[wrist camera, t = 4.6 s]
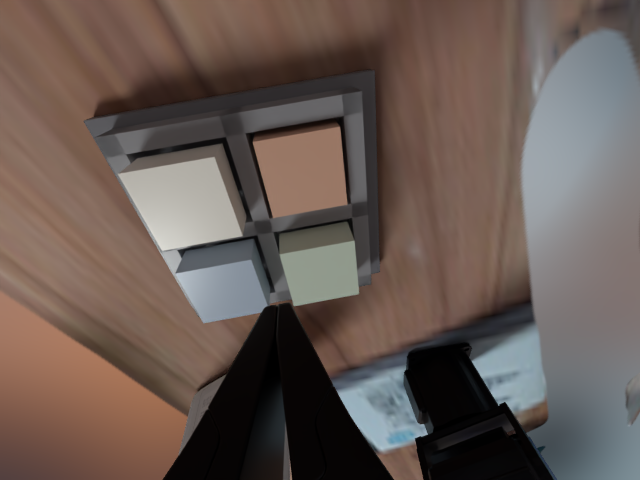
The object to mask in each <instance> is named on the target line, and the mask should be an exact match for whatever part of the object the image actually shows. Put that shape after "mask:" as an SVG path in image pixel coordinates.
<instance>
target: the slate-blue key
mask: <svg viewBox="0 0 640 480" xmlns="http://www.w3.org/2000/svg"><path fill="white" fill-rule="evenodd" d="M175 274H176V276H177V278H178V280H179V281H180V283H181V285H182V287H183V288H184V290H185V292H186V294H187V295H188V297H189V299H190V301H191V302H192V304H193V306H194V307H195V309H196V311H197V313H198V314H199V316H200V318H201V320H202V321H203V323H208V322H213V321H218V320H224V319H229V318H234V317H240V316H245V315H250V314H256V313H261V312H262V311H263V309H264V308H265V307H266V306H270V285H269V282H268V279H267V276H266V273H265V270H264V267H263V264H262V261H261V258H260V255H259V252H258V249H257V246H256V243H255V240H254V239H248V240H243V241H237V242H232V243H226V244H221V245H215V246H210V247H204V248H199V249H194V250H188V251H185V253H184V255H183V257H182V260H181V262H180V264H179V266H178V268H177V271H176V273H175Z"/></svg>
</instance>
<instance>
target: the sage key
mask: <svg viewBox="0 0 640 480" xmlns="http://www.w3.org/2000/svg"><path fill="white" fill-rule="evenodd" d="M279 254H280V258H281V262H282V265H283V269H284V272H285V276H286V279H287V283H288V287H289V290H290V294H291V297H292V301H293V304H294V306H298V305H304V304H309V303H314V302H319V301H325V300H330V299H335V298H341V297H346V296H351V295H357V294H359V287H358V275H357V263H356V252H355V241H354V238H353V235H352V233H351V230H350V228H349V225H348V222H341V223H336V224H330V225H325V226H319V227H314V228H308V229H303V230H297V231H292V232H286V233H281V234H279Z"/></svg>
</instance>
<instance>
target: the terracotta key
mask: <svg viewBox="0 0 640 480" xmlns="http://www.w3.org/2000/svg"><path fill="white" fill-rule="evenodd" d="M253 145H254V149H255V153H256V156H257V160H258V164H259V167H260V171H261V175H262V178H263V182H264V186H265V189H266V193H267V197H268V201H269V204H270V208H271V212H272V215H273V218H276V217H282V216H287V215H293V214H298V213H304V212H309V211H315V210H320V209H326V208H331V207H337V206H342V205H347V194H346V184H345V173H344V163H343V152H342V142H341V131H340V126H339V125H338V123H337V122H336V121H335V119H334V118H330V119H324V120H318V121H313V122H307V123H301V124H296V125H290V126H284V127H279V128H273V129H267V130H262V131H256V132H255V135H254V139H253Z"/></svg>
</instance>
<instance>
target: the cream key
mask: <svg viewBox="0 0 640 480" xmlns="http://www.w3.org/2000/svg"><path fill="white" fill-rule="evenodd" d="M118 175H119V177H120V179H121V181H122V182H123V184H124V186H125V188H126V189H127V191H128V193H129V194H130V196H131V198H132V200H133V201H134V203H135V205H136V207H137V208H138V210H139V212H140V214H141V215H142V217H143V219H144V221H145V222H146V224H147V226H148V228H149V229H150V231H151V233H152V234H153V236H154V238H155V240H156V241H157V243H158V245H159V247H160V248H161V250H162V251H164V250H170V249H175V248H181V247H186V246H192V245H197V244H203V243H208V242H214V241H219V240H225V239H230V238H236V237H241V236H243V232H244V227H245V222H246V213H245V210H244V207H243V204H242V201H241V198H240V195H239V192H238V189H237V186H236V183H235V180H234V177H233V174H232V171H231V168H230V165H229V162H228V159H227V156H226V153H225V150H224V147H223V144H222V143H221V144H215V145H210V146H204V147H198V148H193V149H187V150H181V151H176V152H170V153H164V154H159V155H153V156H147V157H142V158H137V159H136V160H135V161H133V162H132V163H131V164H130V165H128V166H127V167H126V168H125V169H123V170H122V171H121V172H120V173H118Z"/></svg>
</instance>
